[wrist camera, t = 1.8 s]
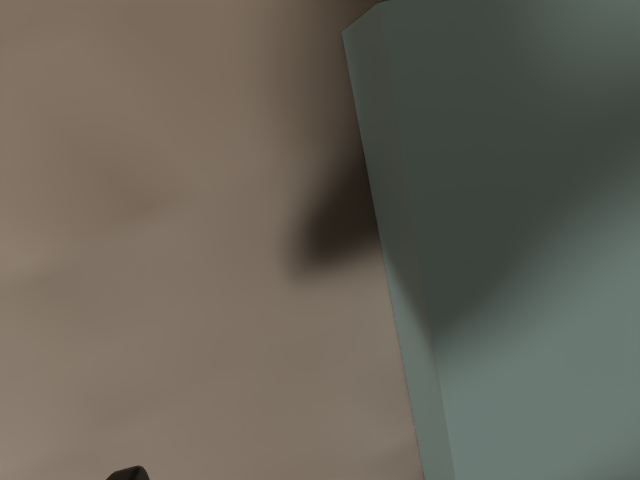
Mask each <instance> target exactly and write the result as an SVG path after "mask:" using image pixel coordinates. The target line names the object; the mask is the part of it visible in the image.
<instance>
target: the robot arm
mask: <svg viewBox="0 0 640 480" xmlns="http://www.w3.org/2000/svg"><path fill="white" fill-rule="evenodd" d="M106 480H150V479H149V477H148V474H147V472H146V470H145V469H144V468H143V467H141V466H134V467H130V468H126V469H123V470H119V471H116V472H114V473H112V474H111V475H110V476H109V477H108V478H107V479H106Z"/></svg>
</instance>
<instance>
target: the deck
mask: <svg viewBox="0 0 640 480" xmlns="http://www.w3.org/2000/svg"><path fill="white" fill-rule="evenodd" d="M342 38H343V43H344V48H345V54H346V59H347V64H348V70H349V75H350V81H351V86H352V91H353V97H354V102H355V108H356V113H357V118H358V124H359V129H360V134H361V140H362V145H363V151H364V156H365V161H366V167H367V172H368V178H369V183H370V188H371V194H372V199H373V204H374V210H375V215H376V221H377V226H378V231H379V237H380V242H381V248H382V253H383V258H384V264H385V269H386V275H387V280H388V285H389V291H390V296H391V301H392V307H393V312H394V318H395V323H396V328H397V334H398V339H399V345H400V350H401V355H402V361H403V366H404V371H405V377H406V382H407V388H408V393H409V398H410V404H411V409H412V415H413V420H414V425H415V431H416V436H417V441H418V447H419V452H420V458H421V463H422V468H423V474H424V479H425V480H640V0H389V1H384V2H380V3H377V4H376V5H375V6H373V7H372V8H371V9H370V10H368V11H367V12H366V13H365V14H363V15H362V16H361V17H359V18H358V19H357V20H356V21H354V22H353V23H352V24H351V25H349V26H348V27H347V28H346V29H344V30H343V31H342Z"/></svg>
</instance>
